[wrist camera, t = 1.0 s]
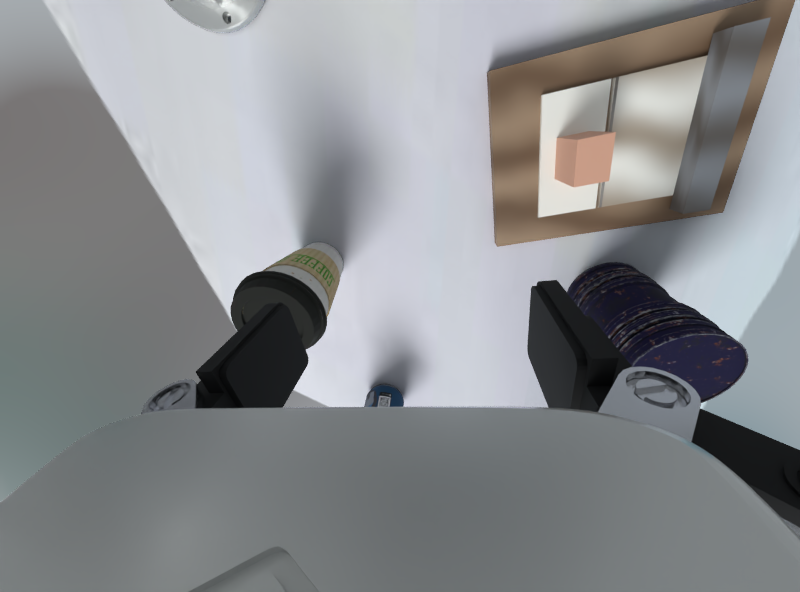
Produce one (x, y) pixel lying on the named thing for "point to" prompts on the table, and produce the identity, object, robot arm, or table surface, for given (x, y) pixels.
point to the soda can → (384, 397)
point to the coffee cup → (294, 289)
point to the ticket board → (640, 120)
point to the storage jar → (659, 328)
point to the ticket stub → (574, 148)
